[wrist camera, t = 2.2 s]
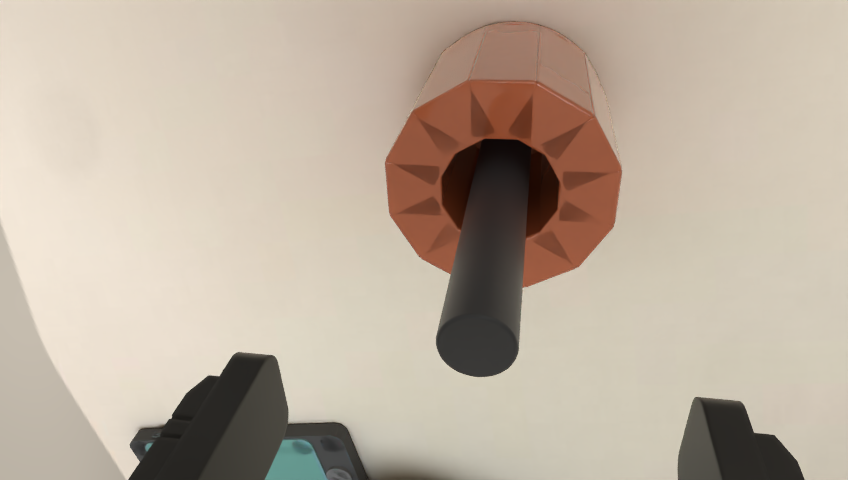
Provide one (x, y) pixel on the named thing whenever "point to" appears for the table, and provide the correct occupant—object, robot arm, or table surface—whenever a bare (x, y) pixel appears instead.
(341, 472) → the smartphone
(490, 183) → the stylus
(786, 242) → the table surface
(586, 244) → the pen pot
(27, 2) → the table surface
